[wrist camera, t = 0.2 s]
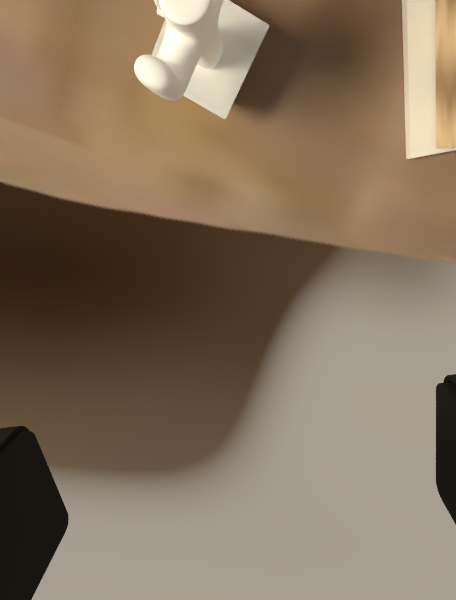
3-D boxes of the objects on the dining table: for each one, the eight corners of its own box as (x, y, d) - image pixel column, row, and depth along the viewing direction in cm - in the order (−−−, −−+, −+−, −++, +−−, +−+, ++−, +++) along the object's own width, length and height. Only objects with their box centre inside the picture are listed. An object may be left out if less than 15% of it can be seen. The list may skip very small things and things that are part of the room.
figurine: (274, 26, 31) (293, -83, 17) (222, 135, 35) (202, 118, 21) (196, -22, 31) (150, -177, 17) (150, 94, 34) (78, 47, 20)
